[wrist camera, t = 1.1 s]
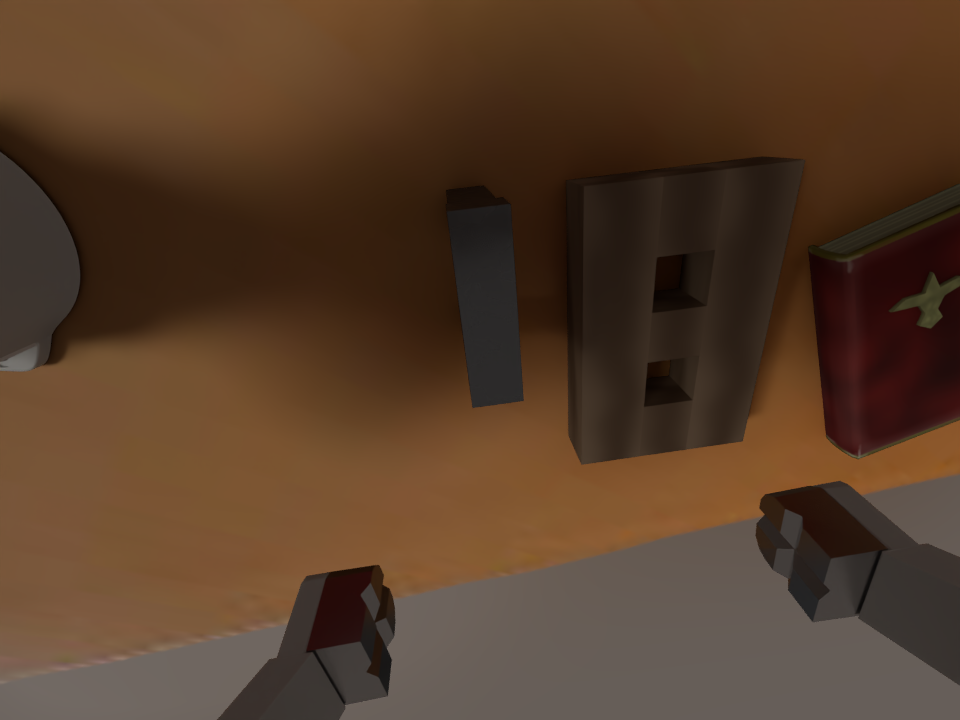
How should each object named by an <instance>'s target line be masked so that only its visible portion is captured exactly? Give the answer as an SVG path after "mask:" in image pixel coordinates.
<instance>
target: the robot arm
mask: <svg viewBox="0 0 960 720" xmlns="http://www.w3.org/2000/svg"><path fill="white" fill-rule="evenodd" d="M79 286H80V265H79V259H78V255H77V251H76V247H75V244H74V242H73V239H72V237H71V234H70V232H69V230H68V228H67V226H66V224H65V222H64V220H63V219H62V217H61V215H60V214H59V212H58V210H57V209H56V207H55V206H54V205H53V203H52V202H51V201H50V199H49V198H48V197H47V195H46V194H45V193H44V192H43V191H42V189H41V188H40V187H39V186H38V185H37V184H36V183H35V182H34V181H33V180H32V179H31V178H30V177H29V176H28V175H27V174H26V173H25V172H24V171H23V170H22V169H21V168H20V167H19V166H18V165H16V164H15V163H14V162H13V161H12V160H10V159H9V158H8V157H6V156H5V155H4V154H3V153H1V152H0V371H30V370H32V369H35V368H37V367H39V366H42V365H43V364H45V363H46V361H47V360H48V357H49V353H50V347H51V338H52V334H53V332H54V330H55V329H56V327H57V326H58V325H59V324H60V323H61V322H62V321H63V319H64V318H65V317H66V316H67V315H68V313H69V312H70V311H71V309H72V307H73V305H74V303H75V301H76V298H77V295H78V291H79ZM759 508H760V509H761V511H762V512H763V513H764V514H765V515H764V516H763V517H762V518H761V519H760V520H759V522H758V523H757V526H756V539H757V542H758V546H759V549H760V551H761V553H762V554H763V557H764V558H765V560H766V561H767V562H768V564H769V565H770V567H771V568H772V569H773V570H774V571H776V572H777V573H779V574H781V575H783V576H784V577H786V578H788V591H789V592H790V593H791V594H792V596H793V597H794V598H795V600H796V601H797V602H798V603H799V605H800V606H801V607H802V609H803V610H804V611H805V613H806V614H807V615H808V617H809V618H810V619H811V620H812V621H813V622H817V621H824V620H831V619H838V618H845V617H852V616H859V617H858V618H859V619H860V620H862V621H863V622H865V623H866V624H868V625H869V626H871V627H872V628H874V629H875V630H877V631H878V632H880V633H881V634H883V635H884V636H886V637H887V638H889V639H890V640H892V641H893V642H895V643H897V644H898V645H899V646H901V647H903V648H904V649H905V650H907V651H908V652H910V653H912V654H913V655H915V656H916V657H918V658H919V659H921V660H922V661H924V662H925V663H927V664H928V665H930V666H931V667H933V668H934V669H936V670H937V671H939V672H940V673H942V674H943V675H945V676H946V677H948V678H949V679H951V680H952V681H954V682H955V683H957V684H958V685H960V557H958V556H956V555H953V554H951V553H948V552H946V551H944V550H941V549H939V548H937V547H934V546H932V545H929V544H921V545H919V544H918V543H916V542H915V541H914V540H913V539H912V538H911V537H909V536H908V535H907V534H906V533H905V532H903V531H902V530H901V529H900V528H899V527H898V526H896V525H895V524H894V523H893V522H892V521H891V520H889V519H888V518H887V517H886V516H885V515H883V514H882V513H881V512H880V511H878V509H876V508H875V507H874V506H873V505H872V504H871V503H869V502H868V501H867V500H866V499H865V498H863V497H862V496H861V495H860V494H859V493H858V492H856V491H855V490H854V489H853V488H852V487H851V486H849V485H848V484H846V483H843V482H841V481H837V482H831V483H826V484H820V485H815V486H806V487H801V488H796V489H791V490H786V491H781V492H775V493H770V494H765V495H764V496H763V497H762V499H761V502H760V507H759ZM383 578H384V574H383V572H382V570H381V568H380V566H379V565H373V566H366V567H360V568H353V569H346V570H340V571H333V572H327V573H321V574H315V575H309V576H306V578H305V579H304V581H303V582H302V584H301V586H300V589H299V592H298V595H297V598H296V601H295V604H294V607H293V610H292V613H291V616H290V619H289V622H288V625H287V628H286V631H285V634H284V637H283V641H282V644H281V647H280V650H279V653H278V656H277V658H274V659H269V660H268V662H267V663H266V664H265V665H264V666H263V667H262V669H261V670H260V671H259V672H258V673H257V674H256V675H255V677H254V678H253V679H252V680H251V681H250V682H249V684H248V685H247V686H246V687H245V688H244V689H243V690H242V692H241V693H240V694H239V695H238V696H237V697H236V699H235V700H234V701H233V702H232V703H231V705H230V706H229V707H228V708H227V709H226V710H225V711H224V713H223V714H222V715H221V716H220V717H219V718H218V719H217V720H339V719H340V717H341V715H342V713H343V712H344V710H345V705H347V704H351V703H357V702H362V701H367V700H371V699H376V698H381V697H386V696H388V690H389V680H390V671H391V662H392V659H391V657H390V654H389V652H388V650H387V646H388V645H389V643H390V642H391V640H392V639H393V638H394V633H395V632H394V631H395V606H394V601H393V596H392V594H391V591H390V589H389V588H387V587H386V586H384V585H383Z"/></svg>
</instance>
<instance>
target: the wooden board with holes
mask: <svg viewBox="0 0 960 720" xmlns="http://www.w3.org/2000/svg"><path fill="white" fill-rule="evenodd" d="M804 164H805V160H803V159H789V158H775V157H756V158H747V159H739V160H731V161H722V162H714V163H706V164H697V165H689V166H681V167H673V168H664V169H656V170H648V171H639V172H631V173H623V174H614V175H606V176H598V177H589V178H581V179H573V180H566V215H567V323H568V431H569V438H570V440H571V442H572V444H573V447H574V449H575V451H576V453H577V456H578V458H579V460H580V462H581V464H589V463H596V462H603V461H610V460H617V459H624V458H630V457H637V456H644V455H651V454H658V453H665V452H672V451H679V450H685V449H692V448H699V447H706V446H713V445H720V444H727V443H734V442H741V441H743V437H744V433H745V428H746V424H747V419H748V415H749V410H750V406H751V401H752V397H753V392H754V388H755V384H756V379H757V375H758V370H759V366H760V361H761V357H762V352H763V348H764V343H765V339H766V334H767V330H768V325H769V321H770V316H771V312H772V307H773V303H774V298H775V294H776V289H777V285H778V280H779V276H780V271H781V267H782V262H783V258H784V253H785V249H786V244H787V240H788V235H789V231H790V227H791V222H792V218H793V213H794V209H795V204H796V200H797V195H798V191H799V186H800V182H801V177H802V173H803V168H804ZM680 254H683V258H682V267H681V276H680V284H679V289H671V290H663V291H656V292H654V285H655V274H656V262H657V257H664V256H672V255H680ZM665 360H671V363H670V371H669V376H663V377H656V378H648V379H646V377H647V366H648V363H650V362H658V361H665Z"/></svg>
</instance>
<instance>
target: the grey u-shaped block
mask: <svg viewBox="0 0 960 720" xmlns="http://www.w3.org/2000/svg"><path fill="white" fill-rule="evenodd" d="M446 195H447V202H448V204H446V211H447V219H448V226H449V234H450V242H451V249H452V257H453V264H454V272H455V280H456V287H457V295H458V302H459V310H460V317H461V325H462V333H463V340H464V348H465V355H466V363H467V371H468V378H469V386H470V393H471V400H472V407H473V408H475V407H482V406H490V405H497V404H504V403H511V402H518V401H524V399H523V384H522V369H521V354H520V338H519V323H518V308H517V293H516V278H515V262H514V247H513V232H512V217H511V204H510V203H509V202H508V201H507V200H506V199H505V198H504V197H500V198H496V197H495V196H494V195H493V194H492V193H491V192H490V191H489V190H488V189H487V188H486V187H485V186H475V187H467V188H459V189H450V190H446Z"/></svg>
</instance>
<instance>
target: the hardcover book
mask: <svg viewBox="0 0 960 720" xmlns="http://www.w3.org/2000/svg"><path fill="white" fill-rule="evenodd" d="M808 250H809V261H810V271H811V282H812V293H813V303H814V314H815V324H816V335H817V345H818V356H819V366H820V377H821V387H822V398H823V408H824V419H825V430H826V438H827V439H828V440H829V441H830V442H831V443H832V444H833V445H834V446H836V447H837V448H838V449H840V450H841V451H842V452H844V453H846V454H847V455H849V456H851V457H853V458H856V459H860V458H863V457H865V456H868V455H870V454H873V453H875V452H878V451H881V450H883V449H886V448H888V447H891V446H894V445H896V444H899V443H901V442H904V441H906V440H909V439H912V438H914V437H917V436H919V435H922V434H925V433H927V432H930V431H932V430H935V429H937V428H940V427H943V426H945V425H948V424H950V423H953V422H956V421H958V420H960V184H957V185H955V186H953V187H951V188H948V189H946V190H944V191H942V192H939V193H937V194H935V195H933V196H931V197H928V198H926V199H924V200H922V201H919V202H917V203H915V204H913V205H911V206H908V207H906V208H904V209H902V210H900V211H897V212H895V213H893V214H891V215H888V216H886V217H884V218H882V219H880V220H877V221H875V222H873V223H871V224H868V225H866V226H864V227H862V228H860V229H857V230H855V231H853V232H851V233H849V234H846V235H844V236H842V237H840V238H837V239H835V240H833V241H831V242H829V243H826V244H824V245H822V246H820V247H816V246H815V245H811V246H809V247H808Z"/></svg>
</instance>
